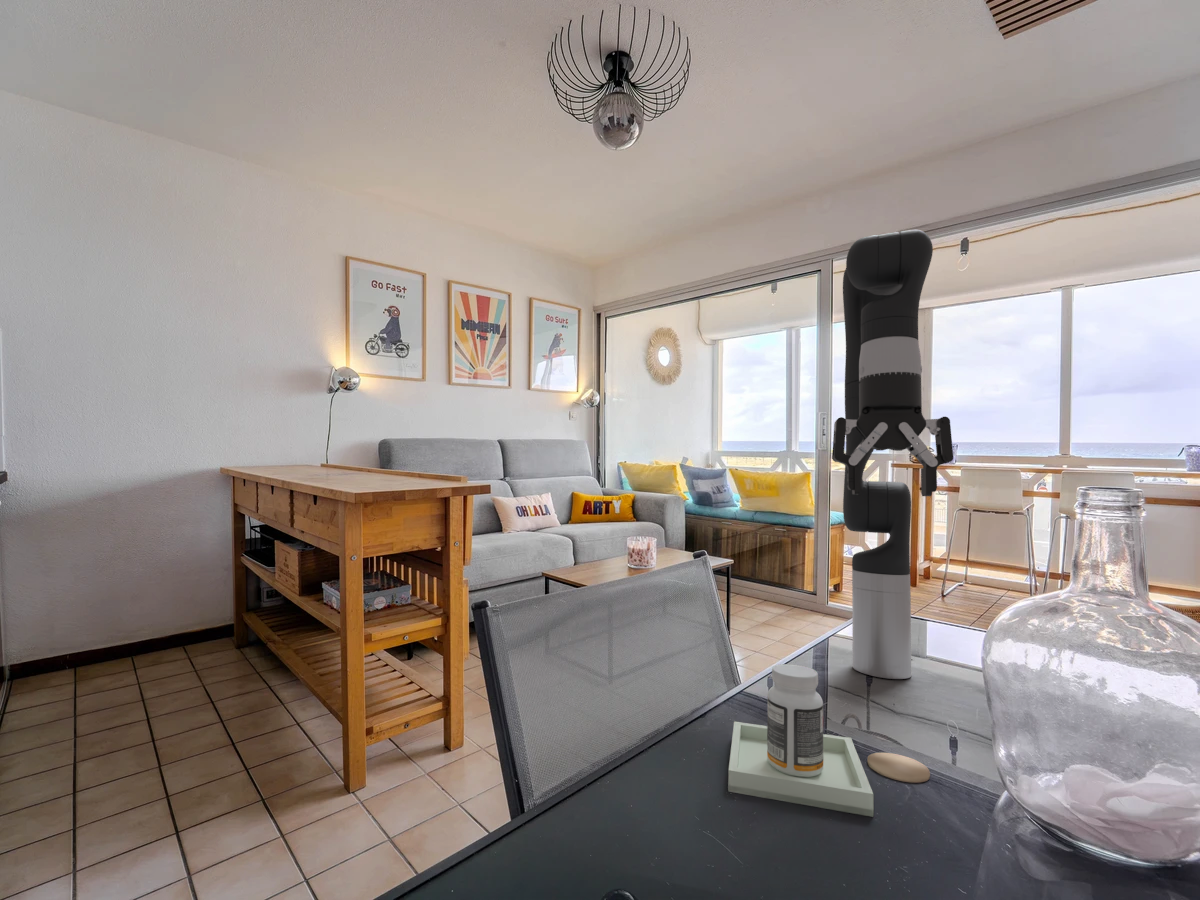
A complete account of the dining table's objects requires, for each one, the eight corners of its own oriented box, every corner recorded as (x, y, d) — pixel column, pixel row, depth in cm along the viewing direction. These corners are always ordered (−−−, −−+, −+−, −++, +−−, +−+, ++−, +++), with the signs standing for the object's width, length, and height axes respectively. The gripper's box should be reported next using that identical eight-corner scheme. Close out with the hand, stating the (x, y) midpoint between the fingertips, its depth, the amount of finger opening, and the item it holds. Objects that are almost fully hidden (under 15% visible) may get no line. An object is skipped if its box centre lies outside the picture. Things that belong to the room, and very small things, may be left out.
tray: (733, 738, 67) (734, 721, 67) (851, 756, 64) (851, 737, 64) (728, 791, 55) (728, 770, 55) (873, 816, 51) (873, 794, 51)
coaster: (863, 752, 65) (863, 749, 65) (921, 761, 63) (921, 757, 63) (873, 776, 59) (873, 772, 59) (937, 786, 57) (937, 782, 57)
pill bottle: (822, 759, 61) (822, 666, 62) (824, 784, 56) (825, 681, 56) (767, 750, 63) (768, 659, 64) (765, 773, 57) (766, 673, 58)
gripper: (939, 380, 78) (942, 497, 76) (829, 383, 82) (829, 494, 80) (958, 368, 70) (961, 496, 69) (836, 371, 74) (836, 493, 73)
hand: (890, 495), depth 75 cm, fingers open, 8 cm apart
